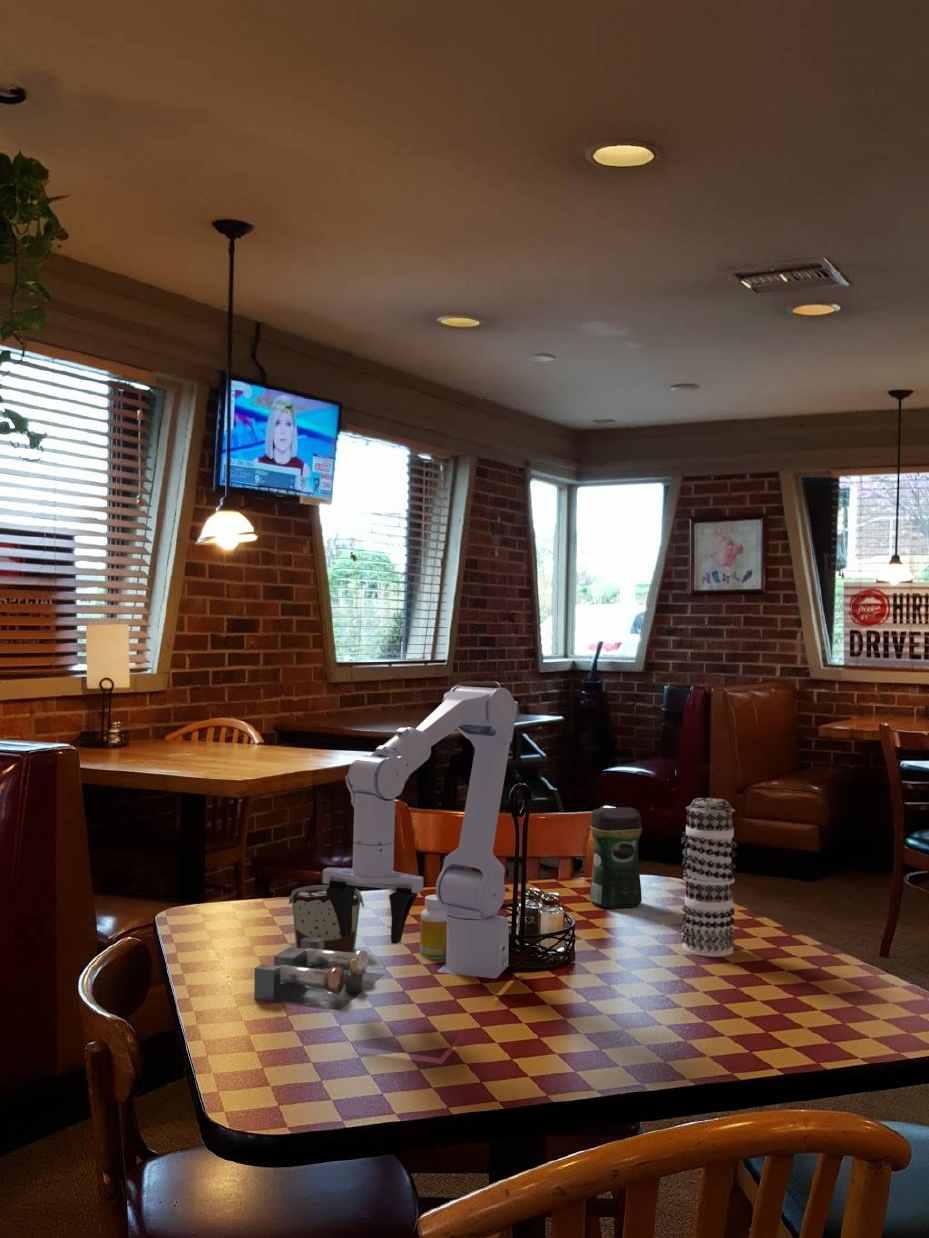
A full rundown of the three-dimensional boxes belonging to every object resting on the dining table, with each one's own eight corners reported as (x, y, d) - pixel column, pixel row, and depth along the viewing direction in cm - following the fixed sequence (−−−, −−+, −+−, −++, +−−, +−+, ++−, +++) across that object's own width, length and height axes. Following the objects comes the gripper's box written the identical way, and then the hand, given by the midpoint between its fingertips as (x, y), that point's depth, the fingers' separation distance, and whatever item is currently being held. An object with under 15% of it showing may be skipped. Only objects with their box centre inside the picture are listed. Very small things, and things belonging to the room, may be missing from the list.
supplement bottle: (449, 963, 184) (450, 902, 184) (416, 960, 186) (417, 899, 185) (456, 953, 190) (457, 894, 190) (424, 951, 191) (425, 892, 191)
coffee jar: (629, 897, 229) (631, 803, 229) (646, 907, 222) (648, 810, 222) (583, 900, 227) (585, 805, 227) (599, 910, 219) (601, 812, 219)
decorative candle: (668, 948, 195) (670, 798, 195) (702, 938, 201) (704, 793, 201) (713, 960, 188) (715, 806, 188) (746, 950, 194) (749, 800, 194)
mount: (384, 978, 176) (384, 945, 176) (339, 1014, 160) (339, 977, 160) (305, 968, 180) (306, 936, 180) (254, 1003, 164) (254, 968, 164)
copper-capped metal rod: (344, 989, 166) (344, 964, 166) (333, 997, 163) (334, 971, 163) (285, 982, 169) (285, 958, 169) (274, 990, 166) (274, 965, 166)
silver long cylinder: (367, 971, 175) (368, 947, 175) (358, 978, 171) (358, 954, 171) (311, 965, 178) (312, 941, 178) (301, 972, 174) (302, 948, 174)
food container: (369, 945, 194) (370, 885, 193) (362, 956, 187) (363, 894, 187) (296, 942, 195) (297, 882, 195) (287, 953, 189) (288, 891, 189)
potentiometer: (364, 988, 170) (365, 958, 170) (358, 993, 167) (358, 963, 167) (348, 986, 170) (348, 956, 170) (341, 991, 168) (341, 961, 168)
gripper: (314, 842, 162) (311, 939, 162) (411, 851, 157) (408, 951, 157) (335, 834, 169) (332, 928, 168) (429, 842, 164) (427, 939, 164)
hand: (370, 938), depth 163 cm, fingers open, 7 cm apart
